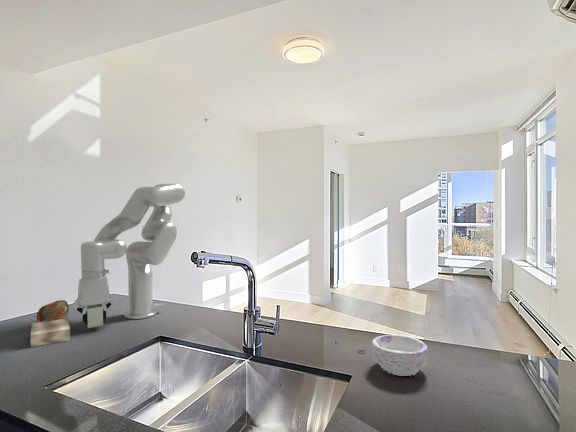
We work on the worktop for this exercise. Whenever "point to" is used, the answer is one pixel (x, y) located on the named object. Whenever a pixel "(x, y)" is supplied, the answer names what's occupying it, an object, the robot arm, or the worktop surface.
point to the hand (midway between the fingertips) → (94, 321)
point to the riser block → (50, 332)
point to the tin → (53, 311)
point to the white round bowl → (399, 354)
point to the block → (95, 315)
